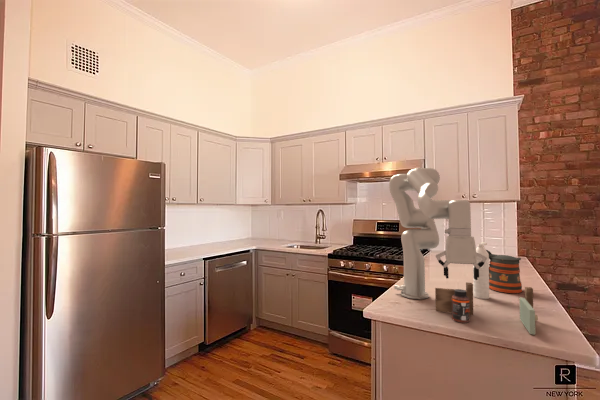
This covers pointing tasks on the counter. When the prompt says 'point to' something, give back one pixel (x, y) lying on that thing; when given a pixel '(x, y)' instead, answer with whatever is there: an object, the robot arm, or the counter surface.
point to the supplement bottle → (460, 306)
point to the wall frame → (445, 296)
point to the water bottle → (482, 275)
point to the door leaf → (527, 315)
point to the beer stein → (504, 273)
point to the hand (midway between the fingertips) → (461, 278)
